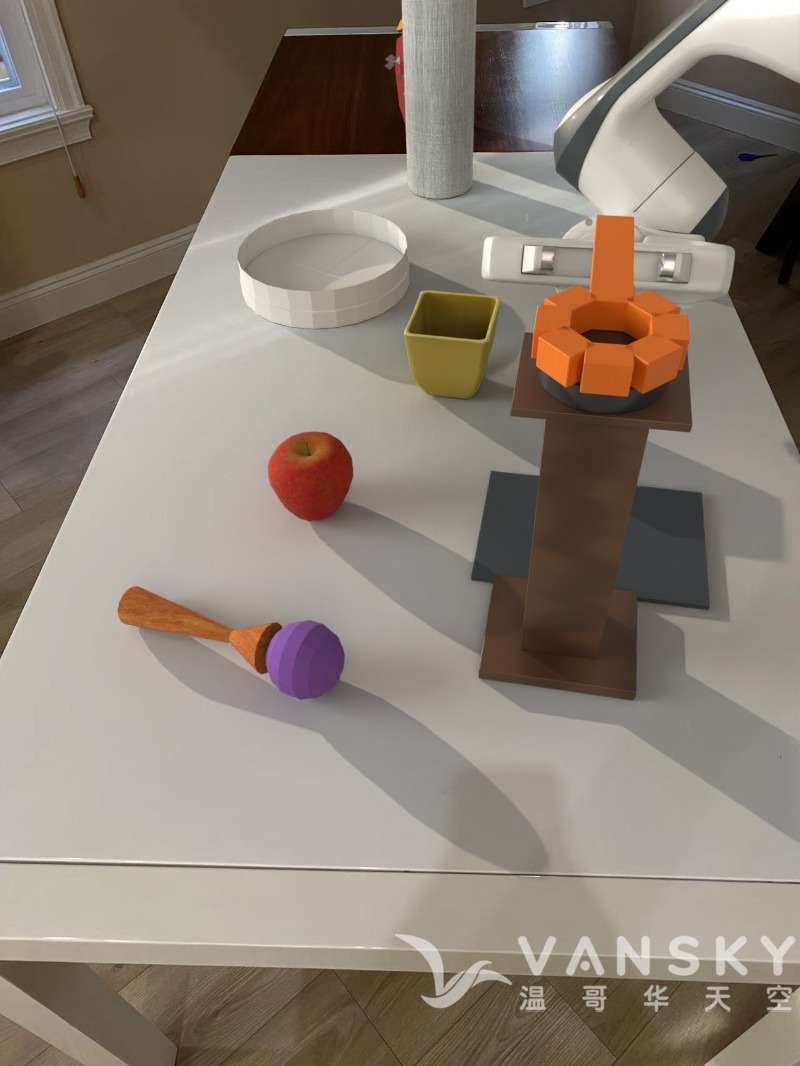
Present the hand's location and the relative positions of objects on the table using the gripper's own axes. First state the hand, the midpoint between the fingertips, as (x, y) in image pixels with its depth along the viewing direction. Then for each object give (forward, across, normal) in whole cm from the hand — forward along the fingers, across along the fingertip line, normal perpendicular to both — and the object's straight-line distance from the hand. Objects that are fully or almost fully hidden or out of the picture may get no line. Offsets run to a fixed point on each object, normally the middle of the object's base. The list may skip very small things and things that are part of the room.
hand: (607, 261), depth 62 cm
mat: (-7, +2, +24) cm, 25 cm away
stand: (+4, 0, +30) cm, 30 cm away
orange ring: (+13, 0, +3) cm, 14 cm away
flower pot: (-25, -14, +13) cm, 32 cm away
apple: (-7, -24, +24) cm, 35 cm away
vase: (-69, -24, -13) cm, 74 cm away
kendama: (+9, -26, +33) cm, 43 cm away
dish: (-42, -34, +3) cm, 55 cm away
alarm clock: (-89, -32, -24) cm, 98 cm away
